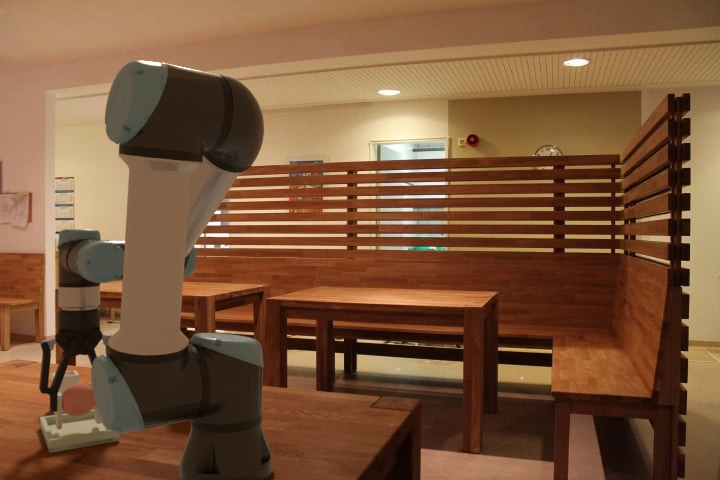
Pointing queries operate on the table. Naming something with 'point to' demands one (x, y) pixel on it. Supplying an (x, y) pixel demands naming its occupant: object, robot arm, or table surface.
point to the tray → (75, 432)
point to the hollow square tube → (67, 381)
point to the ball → (78, 399)
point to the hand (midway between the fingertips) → (78, 424)
